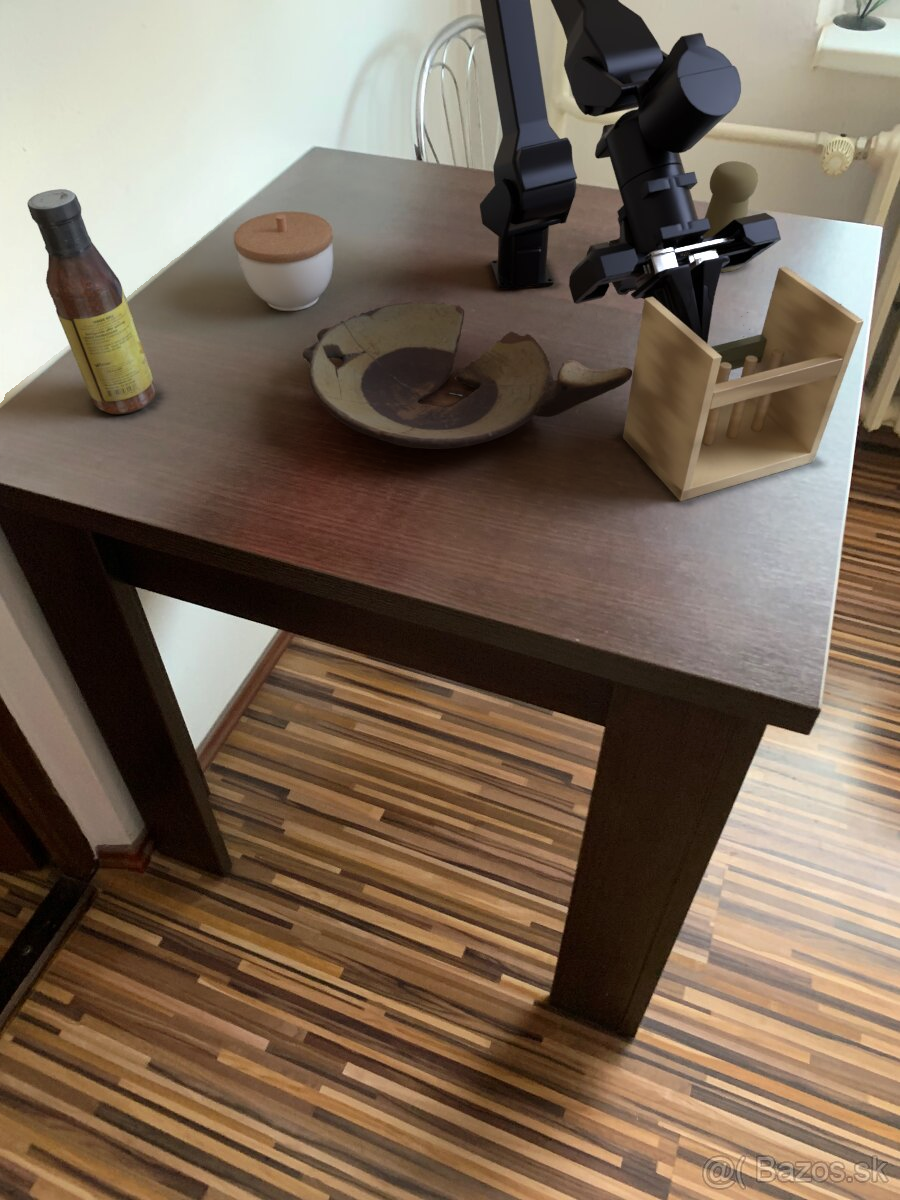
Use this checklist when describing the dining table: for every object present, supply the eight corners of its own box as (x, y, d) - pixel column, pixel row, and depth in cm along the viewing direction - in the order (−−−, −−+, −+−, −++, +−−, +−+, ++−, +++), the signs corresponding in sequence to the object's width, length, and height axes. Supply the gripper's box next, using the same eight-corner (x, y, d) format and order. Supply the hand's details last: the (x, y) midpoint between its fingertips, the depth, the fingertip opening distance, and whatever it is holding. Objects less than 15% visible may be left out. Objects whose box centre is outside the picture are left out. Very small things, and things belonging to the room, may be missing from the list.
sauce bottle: (169, 388, 90) (111, 187, 75) (135, 423, 85) (67, 218, 71) (114, 377, 91) (47, 178, 77) (78, 411, 87) (-1, 208, 73)
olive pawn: (743, 274, 104) (766, 177, 96) (690, 269, 105) (709, 174, 97) (741, 250, 108) (764, 156, 100) (691, 247, 109) (709, 153, 101)
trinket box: (228, 311, 100) (210, 229, 93) (275, 269, 107) (262, 190, 100) (312, 328, 97) (300, 245, 90) (355, 284, 104) (347, 204, 97)
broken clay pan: (412, 321, 98) (408, 254, 92) (647, 420, 85) (660, 348, 79) (261, 413, 86) (247, 343, 81) (506, 545, 73) (509, 471, 67)
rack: (622, 437, 83) (644, 298, 73) (748, 403, 86) (786, 266, 76) (680, 501, 76) (713, 358, 66) (813, 462, 80) (864, 320, 70)
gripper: (693, 204, 89) (736, 354, 89) (526, 239, 84) (573, 397, 85) (759, 145, 78) (807, 317, 79) (572, 182, 73) (625, 364, 74)
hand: (700, 350), depth 79 cm, fingers closed, pressing on rack
